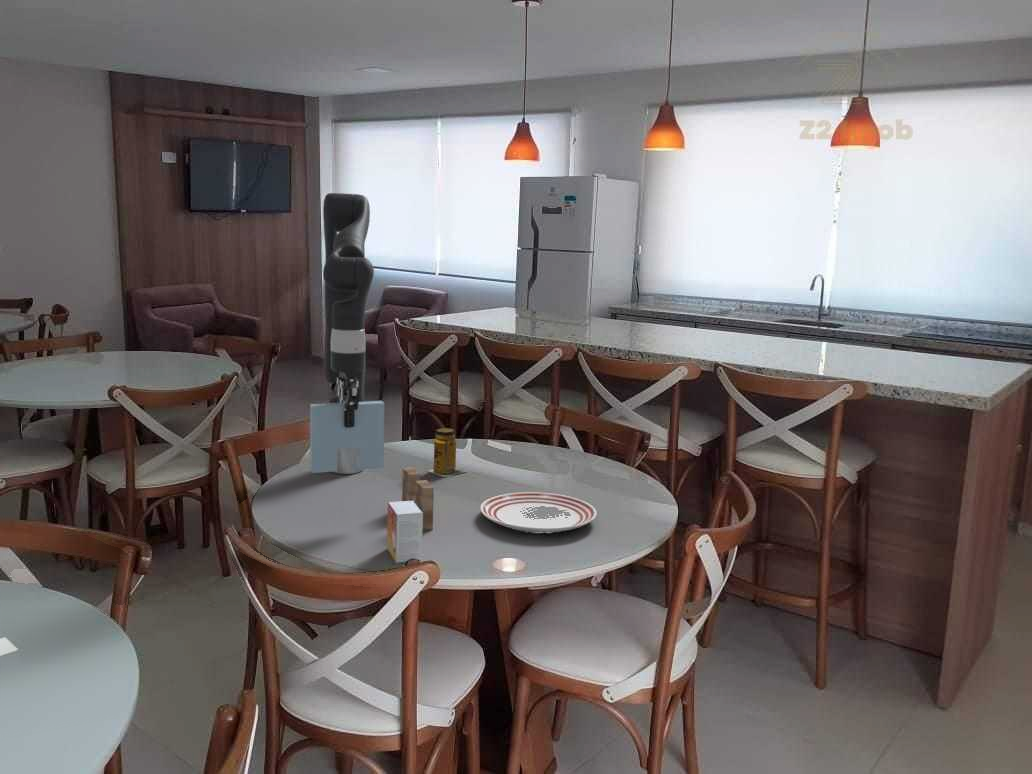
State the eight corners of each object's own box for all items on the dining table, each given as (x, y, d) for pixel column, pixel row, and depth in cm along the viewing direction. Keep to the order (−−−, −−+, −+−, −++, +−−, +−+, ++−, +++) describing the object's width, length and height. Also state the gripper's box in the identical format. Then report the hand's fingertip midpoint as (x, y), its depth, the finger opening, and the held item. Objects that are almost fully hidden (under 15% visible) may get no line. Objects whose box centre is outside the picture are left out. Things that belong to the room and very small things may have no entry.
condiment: (426, 471, 242) (428, 429, 240) (451, 466, 248) (452, 425, 245) (443, 477, 237) (444, 434, 234) (467, 472, 242) (469, 430, 240)
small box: (386, 549, 186) (387, 501, 184) (412, 546, 188) (413, 499, 186) (395, 563, 179) (396, 514, 177) (421, 560, 181) (423, 512, 179)
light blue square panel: (310, 469, 196) (310, 404, 193) (380, 464, 202) (381, 400, 199) (312, 473, 194) (312, 406, 191) (383, 467, 200) (384, 403, 197)
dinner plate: (466, 505, 216) (466, 492, 215) (569, 498, 225) (569, 486, 224) (500, 547, 191) (501, 532, 190) (615, 537, 200) (616, 523, 199)
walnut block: (401, 507, 212) (402, 467, 210) (411, 506, 213) (412, 467, 211) (422, 530, 197) (423, 488, 195) (432, 529, 198) (433, 487, 196)
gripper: (373, 353, 188) (371, 432, 191) (357, 343, 200) (356, 417, 204) (338, 354, 185) (337, 434, 188) (324, 344, 197) (324, 418, 201)
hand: (347, 425), depth 196 cm, fingers closed on light blue square panel, 2 cm apart
